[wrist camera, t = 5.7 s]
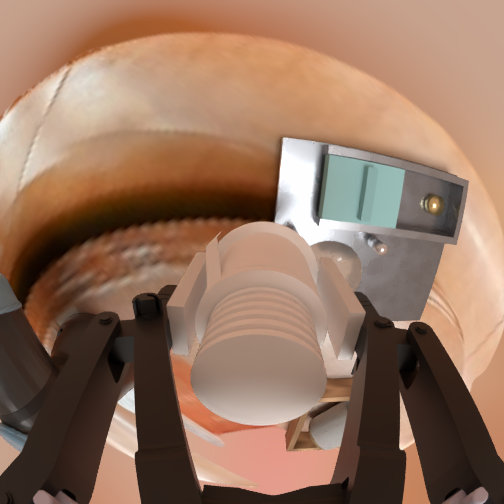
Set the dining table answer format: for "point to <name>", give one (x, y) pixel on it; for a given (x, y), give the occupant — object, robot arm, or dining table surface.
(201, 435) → the dining table surface
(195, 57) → the dining table surface
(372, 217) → the cover
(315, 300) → the downlight
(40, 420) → the robot arm
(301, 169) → the housing board
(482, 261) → the dining table surface
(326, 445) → the ceramic mug
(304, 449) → the wooden caddy
